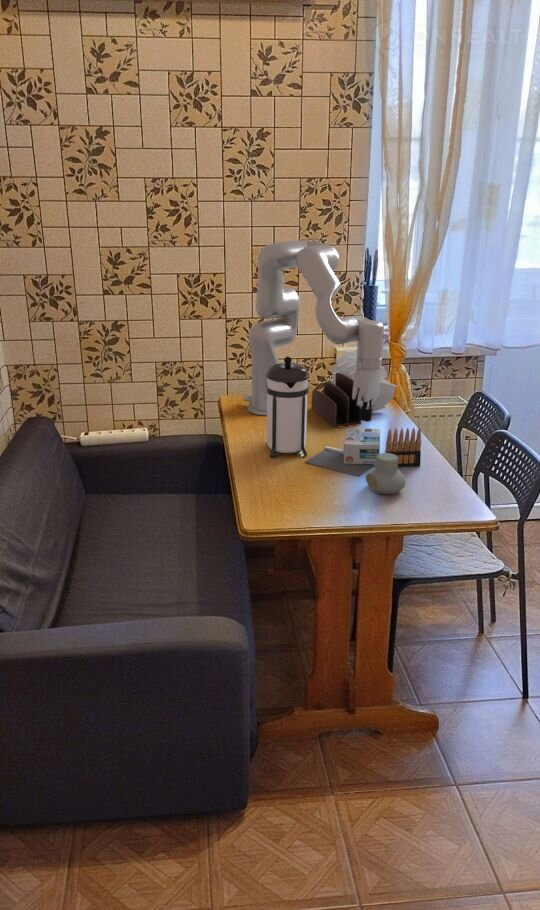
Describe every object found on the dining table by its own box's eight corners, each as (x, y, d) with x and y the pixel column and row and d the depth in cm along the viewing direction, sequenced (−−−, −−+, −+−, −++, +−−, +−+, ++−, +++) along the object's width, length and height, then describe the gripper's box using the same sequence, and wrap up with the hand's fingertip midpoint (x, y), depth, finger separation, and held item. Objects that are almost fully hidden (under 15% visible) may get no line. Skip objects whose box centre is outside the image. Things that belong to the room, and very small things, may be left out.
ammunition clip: (418, 464, 228) (421, 426, 223) (420, 466, 226) (423, 428, 222) (383, 465, 227) (386, 427, 222) (384, 468, 225) (387, 429, 221)
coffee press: (322, 450, 238) (326, 355, 226) (288, 464, 227) (290, 366, 215) (281, 435, 249) (282, 345, 237) (246, 449, 238) (246, 355, 226)
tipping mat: (304, 462, 228) (304, 459, 228) (326, 448, 238) (326, 445, 238) (358, 476, 219) (359, 473, 219) (379, 461, 229) (379, 458, 229)
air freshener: (362, 484, 214) (364, 451, 211) (388, 480, 217) (390, 447, 213) (381, 500, 205) (383, 466, 201) (408, 496, 208) (411, 462, 204)
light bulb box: (380, 428, 232) (380, 444, 222) (380, 448, 235) (379, 464, 225) (345, 427, 233) (343, 444, 224) (345, 447, 236) (343, 464, 227)
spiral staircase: (359, 426, 269) (338, 401, 291) (404, 403, 269) (379, 379, 291) (341, 383, 260) (320, 360, 282) (387, 359, 260) (362, 338, 282)
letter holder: (336, 407, 276) (338, 369, 271) (361, 425, 259) (363, 385, 254) (310, 410, 273) (312, 371, 268) (334, 428, 256) (336, 388, 250)
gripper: (369, 355, 237) (365, 411, 244) (345, 366, 226) (343, 424, 233) (391, 359, 233) (387, 416, 240) (368, 370, 222) (365, 429, 229)
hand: (365, 420), depth 237 cm, fingers closed
